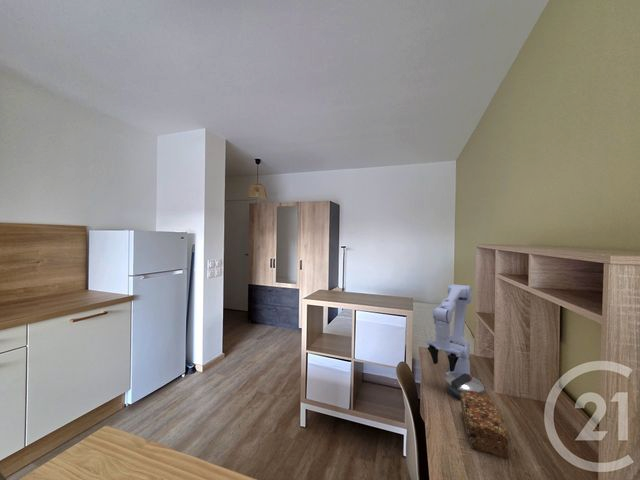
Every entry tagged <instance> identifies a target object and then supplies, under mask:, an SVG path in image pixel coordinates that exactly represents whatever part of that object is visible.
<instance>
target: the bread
mask: <svg viewBox="0 0 640 480" xmlns="http://www.w3.org/2000/svg"><path fill="white" fill-rule="evenodd" d="M460 399H461V400H460V407H461V408H460V409H461V412H462V417H463V420H464V421H463V423H464V426H465V430H466V435H467V438H468V442H469V444H470V447H471V448H472V449H473V450H477V451H478V452H481V453H489V454H492V455H494V456H497V457H501V458H508V454H509V447H508V445H509V438H508V434H507V428H506V426H505V423H504V419H503V418H502V416H501V414H500V412H499V410H498V407H497V405H496V404H495V403H494V401H493V400H491V398H490V397H488V396H487V395H486V394H481V393H478V392H476V391H468V390H465V391H463V392H461V396H460Z"/></svg>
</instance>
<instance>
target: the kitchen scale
mask: <svg viewBox="0 0 640 480" xmlns="http://www.w3.org/2000/svg"><path fill="white" fill-rule="evenodd" d="M446 384H447V385H446V386H447V387H446V388H447V392H448V393H449V394H450V395H449V396H452V397H453V398H455V399H456V400H460V401H461V399H460V396H461V392H463V391H460V390H457V389H455V388H453V387H451V386H450V385H449V384H448V383H447V382H446ZM483 392H484V390H483V391H482V392H480V393H481V394H483ZM483 395H484V394H483Z"/></svg>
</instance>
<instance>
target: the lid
mask: <svg viewBox="0 0 640 480" xmlns="http://www.w3.org/2000/svg"><path fill="white" fill-rule="evenodd" d="M470 374H471V373H470ZM470 374H466V373H465V374H462V373H451V374H448V375H446V376H445V382H446V384H447V383H448V384H449V385H450V386H451V387H453V388H455V389H457V390H460V391H465V390H468V391H476V392H478V393H480V392H482V391H483V392H484V390H485V387H484V383H483V382H482V381H481V380H480V379H478V378H476V377H474V376H473V375H472V374H471V375H470ZM483 392H482V393H483Z"/></svg>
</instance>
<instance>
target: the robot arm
mask: <svg viewBox="0 0 640 480" xmlns="http://www.w3.org/2000/svg"><path fill="white" fill-rule="evenodd" d="M447 293H448V295H447V297H446V298H444V299H442V301H441V303H440V304H439V306H437V307H435V308H433V311H432V319H433V323H434V325H435V341H434V340H431V339H429V340H427V341H426V345H427V350H428V352H429V354H430V357H431V359H432V363H433V364H434V365H437V364H438V363H439V351H444V352H445V354H446V355H447V358H448V371H446V372H444V374H445V375H446V376H447V375H448V374H451V373H462V374H465V373H466V374H470V375H472V374H471V363H470V362H471V361H470V360H469V358H470V353H471V352H470V351H471V349H470V343H469V341H467V339H465V337H464V336H465V335H464V334H465V324H466V323H465V322H466V315H467V307H468V305H469V304H471V303H472V297H473V289H472V286H471V285H466V284H465V285H463V284H453V283H449V284H448V286H447ZM453 312H454V313H453ZM453 315H454V318H453ZM452 320H453V327H452V335H451V322H452Z"/></svg>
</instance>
